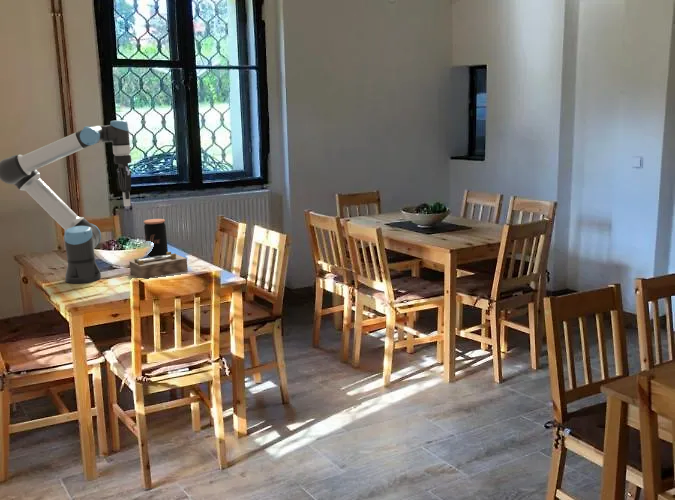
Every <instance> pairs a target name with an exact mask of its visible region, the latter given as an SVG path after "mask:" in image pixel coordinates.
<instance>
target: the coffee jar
mask: <svg viewBox="0 0 675 500" xmlns="http://www.w3.org/2000/svg"><path fill="white" fill-rule="evenodd" d="M143 224H144V226H143V230H144V241H145V242H146V241H151V242H153V243H154V247H153V249H152V251H151V252H150V253H149V254H148V255H147V257H149V256H150V257H149V258H151V257H153V256H159V255H160V256H163V255H167V254H166V252H169V249H168V237H167V228H166V219H164V218H151V219H145V220H143Z"/></svg>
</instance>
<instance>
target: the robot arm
mask: <svg viewBox="0 0 675 500" xmlns="http://www.w3.org/2000/svg"><path fill="white" fill-rule="evenodd" d="M129 131H130V130H129V125H128V121H127V120H125V119H123V120H121V119H119V120H111V121H110V124H108V125H88V126H86V125H85V126H84V127H83V128H82V129H81V130H79V131H77V132H74V133H70V135H67V136H65V137H62V138H60V139H58V140H55V141H53V142H51V143H48V144H46V145H44V146H41V147H39V148H36V149H35V150H32V151H30V152H28V153H25V154H17V155H11V156H10V157H6V158H3V159H1V160H0V181H2V182H3V183H4V184H8V185H14V186H15V187H16V188H17V189H18V191H24V192H26V193H27V194H28V195H29V197H31V198H32V200H34V201H35V202H36V203H37V204H38V205H39V206H40V207H41V208H42V209H43V210H44V211H45V212H46V213H47V214H48V215H49V216H50V217H51V218H52V219H53V220H54V221H55V222H56V223H57V224H58V225H59V226H60V227H61V228H62V229H64V235H63V239H64V244H65V252H66V259H67V260H66V261H67V266H66V270H65V276H64V278H65V283H67V284H86V283H92V282H95V281H98V280H100V279H101V278H102V275H101V271H100V269H99V266H98V264H97V262H96V258H95V248H97V246H99V245H100V242H101V238H102V232H101V230H100V229H99V228H98V226H97V225H95V224H93V223H90V222H89V220H87V219H86V218H85V217H84V216H78V214H77V213H75V211H73V209H71V208H70V206H69V205H67V203H65V202H64V200H63V199H62V198H61V197H59V195H57V193H56V192H54V190H53V189H52V188H50V187H49V185H47V183H46V182H44V181H43V180H42V178H41V173H40V171H38V170H39V169H41V168H43V167H45V166H47V165H49V164H52V163H54V162H57V161H59V160H61V159H63V158H65V157H68V156H71V155H72V154H74V153H76V152H79V151H82V150H84V149H87V148H89V147H91V146H94V145H96V144H99V143H112V153H113V155H114V156H113V162H114V164H115V165H117V166H118V167H117V169H116V172H117V173H116V174H117V177H118V183H119V189H120V191H121V192H122V200H123V207H131V205H132V204H131V195H130V193H131V191H132V170H130V167H129V164H131V163H132V155H131V149H132V147H131V146H130V145H131V144H130V132H129Z"/></svg>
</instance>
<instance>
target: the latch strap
mask: <svg viewBox="0 0 675 500" xmlns="http://www.w3.org/2000/svg"><path fill="white" fill-rule="evenodd" d="M171 254H172V253H171ZM171 254H170V255H164V256H160V255H159V256H153V257H152V258H151V257H147V258H146V259H145V258H141V259H140V258H139V259H140V260H143V262H147V261H153V260H159V259H165V258H171ZM139 259H137V260H136V262H138V261H139Z"/></svg>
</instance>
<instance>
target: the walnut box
mask: <svg viewBox="0 0 675 500" xmlns="http://www.w3.org/2000/svg"><path fill="white" fill-rule="evenodd" d="M166 254H167V255H170V254H171V258H165V259H159V260H153V261H147V262H143V260H140V258H139V257H138V258H134V259H132V260H129V269H130V270H129V271H130V275H132V276H135V277H136V278H138V277H140V278H147V279H151V278H150V277H152V278H156V277H155V276H158V277H162V276H161V275H163V276H167V275H174V274H179V273H185V272H188V259H187V258H186V257H184V256H182V255H179V254H177V253H175V252H174V253H172V251H168V252H166ZM163 256H164V255H163ZM150 258H152V257H150ZM137 259H139V261H138V262H136V260H137ZM144 259H146V258H144ZM140 278H139V279H140Z"/></svg>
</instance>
